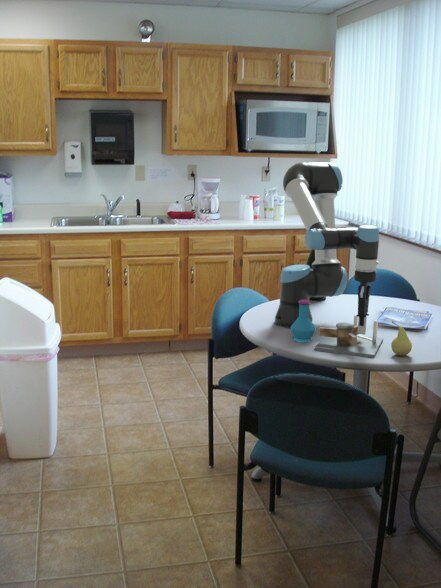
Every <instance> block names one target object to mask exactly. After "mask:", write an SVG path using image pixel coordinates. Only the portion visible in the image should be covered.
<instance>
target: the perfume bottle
mask: <svg viewBox="0 0 441 588" xmlns="http://www.w3.org/2000/svg"><path fill="white" fill-rule="evenodd" d="M311 302H312V301H311V300H300V301H298V303H299V317H298V318H297V320H296V321H295V322H294V323H293V324H292V326H291V328H290V330H291V334H292V337H294V338H293V340H294V341H295V342H299V343H309V341H310V342H312V338H313V337H314V334H315V332H316V328H317V327H316V326H315V324H314V323H313V321H312V322H311V320H310V319H309V308H310V304H312V303H311Z"/></svg>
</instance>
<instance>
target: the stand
mask: <svg viewBox="0 0 441 588" xmlns="http://www.w3.org/2000/svg"><path fill="white" fill-rule="evenodd" d="M356 315H357V314H354V315H353V325H354V326H356V325H358V317H357V316H356ZM378 323H379V322H378V320H373V327H372V336H368V335H362V334H358V335H355V336H356V337H357V345H354V346H353V345H351V344H350V345H339V344H337V338H335V337H324V336H322V338H321V339H320V340H319V341H318V343H317V344H316V345H315V346H314V347H313V348H314V351H318V350H319V351H320V352H326V353H327V352H328V353H333V354H340V355H341V354H343V355H350V356H358V357H366V358H367V357H368V358H372V359H374V358H375V357H376V354H377V353H378V350H379V349H380V347H381V345H382V343H383V341H384V338H383V337H377V335H378V325H379V324H378ZM319 351H318V352H319Z"/></svg>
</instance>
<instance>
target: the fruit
mask: <svg viewBox="0 0 441 588" xmlns="http://www.w3.org/2000/svg"><path fill="white" fill-rule="evenodd" d="M391 323H392V324H393V325H395V326H397V328H398V333H397V335H396V337H395V338H393V339H392V341H391V343H390V345H391V350H392V352H393V354H395V355H397V356H401V357H403V356H408V355H409V354H410V353H411V351H412V349H413V348H412V347H413V345H412V342H411V340H410V338H409V336H408V334H407V332H406V330H405V328H404V327H402V326H400V325H398V324H397V323H396V322H394V321H393V320H392V321H391Z"/></svg>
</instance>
